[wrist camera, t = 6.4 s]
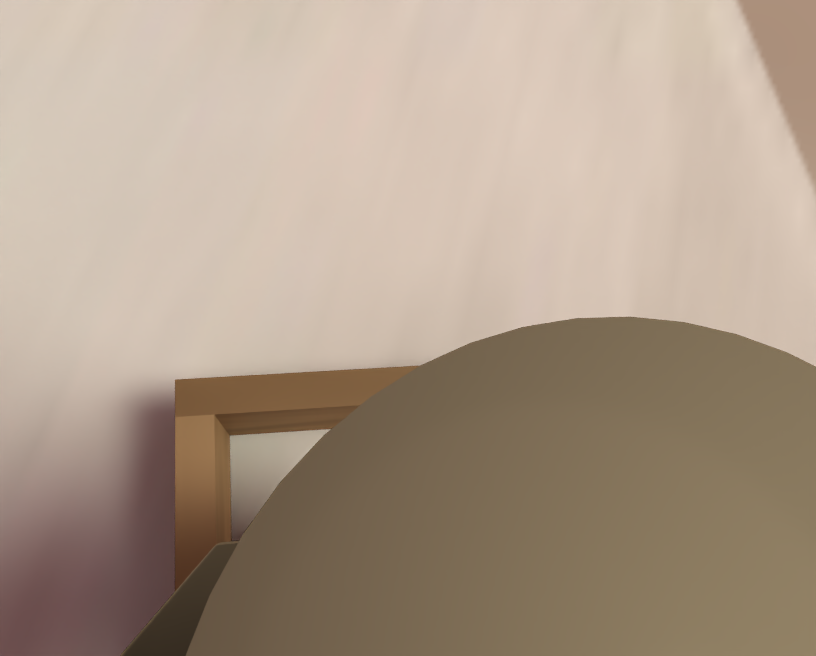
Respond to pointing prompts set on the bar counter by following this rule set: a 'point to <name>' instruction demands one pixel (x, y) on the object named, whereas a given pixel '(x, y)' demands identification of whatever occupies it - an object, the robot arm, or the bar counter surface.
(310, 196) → the bar counter surface
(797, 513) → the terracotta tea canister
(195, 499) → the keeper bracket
